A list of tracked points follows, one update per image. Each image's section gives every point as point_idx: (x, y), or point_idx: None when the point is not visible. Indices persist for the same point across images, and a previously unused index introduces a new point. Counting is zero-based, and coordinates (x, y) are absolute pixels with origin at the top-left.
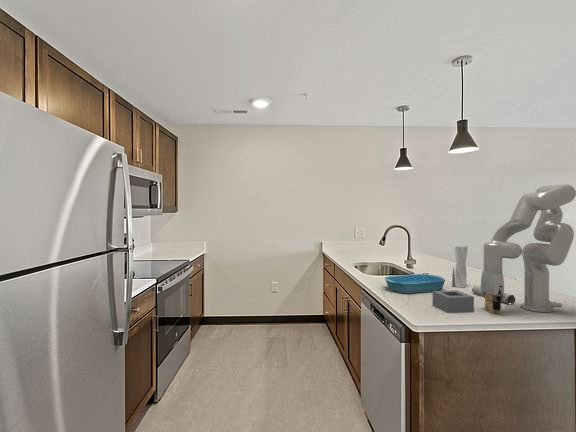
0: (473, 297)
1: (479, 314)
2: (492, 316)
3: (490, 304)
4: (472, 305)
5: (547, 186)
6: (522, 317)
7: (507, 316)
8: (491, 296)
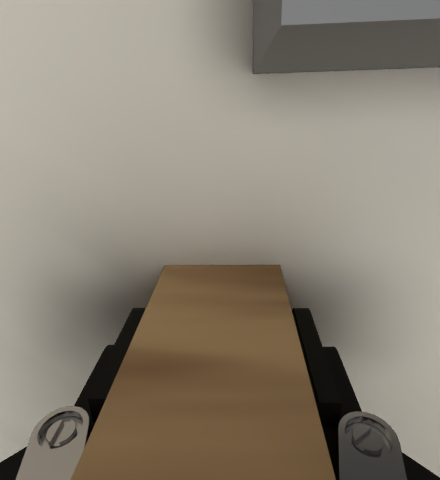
0: (280, 14)
1: (114, 68)
2: (35, 189)
3: (166, 327)
4: (260, 29)
5: None
6: (34, 426)
7: (52, 338)
8: (90, 470)
